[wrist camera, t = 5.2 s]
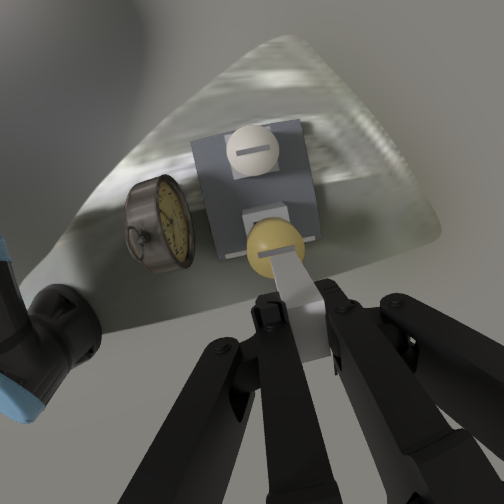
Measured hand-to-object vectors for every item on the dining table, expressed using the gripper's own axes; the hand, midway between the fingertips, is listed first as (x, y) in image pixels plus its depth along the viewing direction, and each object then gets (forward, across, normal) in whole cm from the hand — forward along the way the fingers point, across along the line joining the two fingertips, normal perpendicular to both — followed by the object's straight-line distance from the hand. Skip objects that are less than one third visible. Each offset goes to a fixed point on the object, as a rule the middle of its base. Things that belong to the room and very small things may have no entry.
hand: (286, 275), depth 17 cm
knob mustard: (+16, 0, -1) cm, 16 cm away
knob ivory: (+20, 0, +8) cm, 21 cm away
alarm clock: (+22, -12, +3) cm, 26 cm away
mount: (+22, 0, +4) cm, 22 cm away
